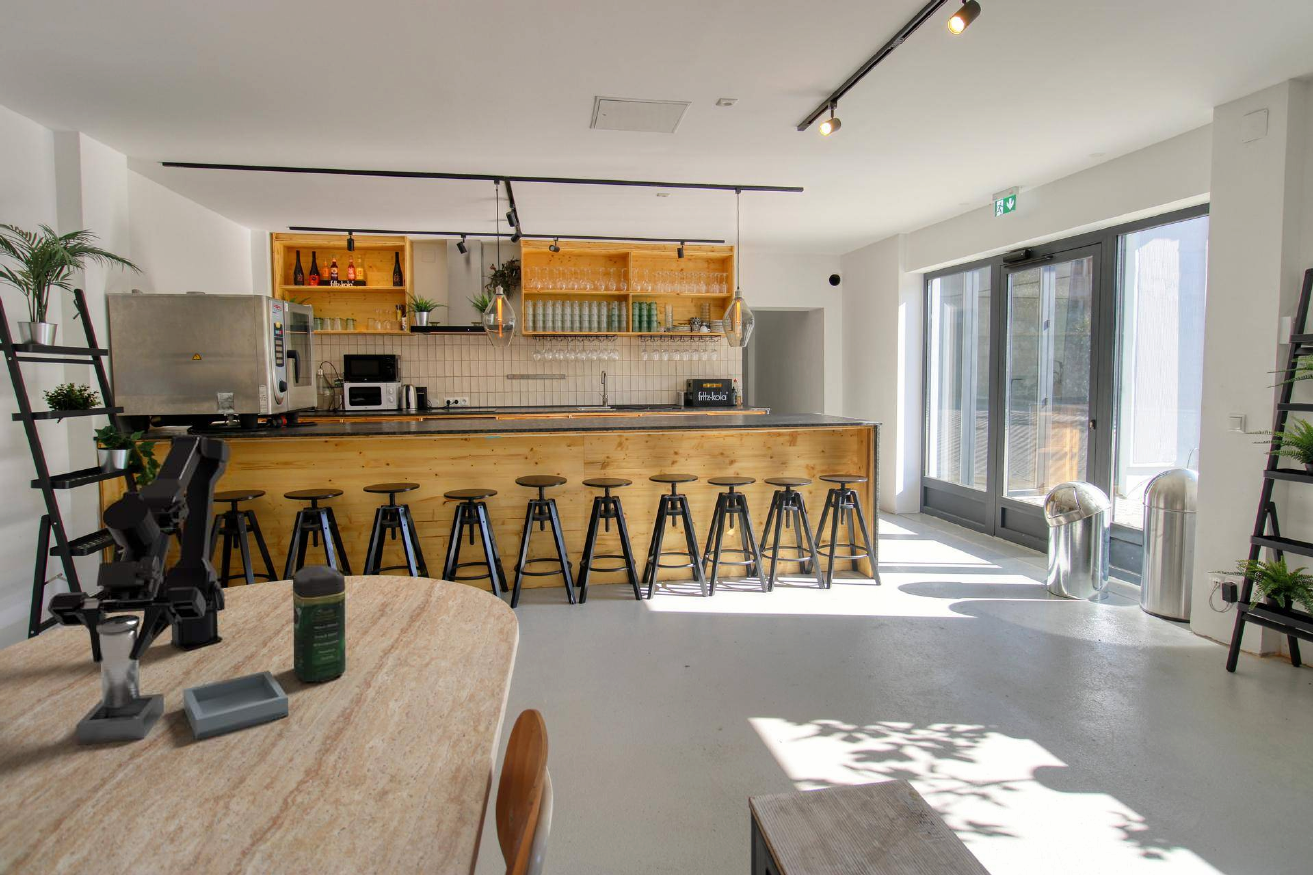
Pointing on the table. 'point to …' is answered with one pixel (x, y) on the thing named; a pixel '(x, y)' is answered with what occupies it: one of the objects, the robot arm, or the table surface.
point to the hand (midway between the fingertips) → (115, 660)
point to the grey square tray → (120, 721)
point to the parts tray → (234, 704)
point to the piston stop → (119, 660)
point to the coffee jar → (319, 623)
